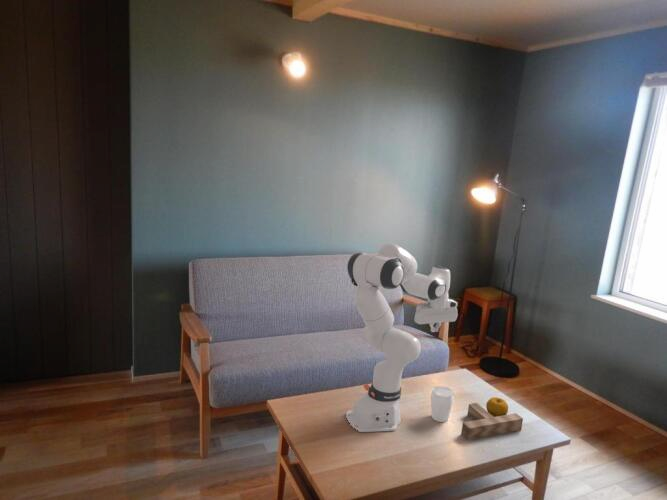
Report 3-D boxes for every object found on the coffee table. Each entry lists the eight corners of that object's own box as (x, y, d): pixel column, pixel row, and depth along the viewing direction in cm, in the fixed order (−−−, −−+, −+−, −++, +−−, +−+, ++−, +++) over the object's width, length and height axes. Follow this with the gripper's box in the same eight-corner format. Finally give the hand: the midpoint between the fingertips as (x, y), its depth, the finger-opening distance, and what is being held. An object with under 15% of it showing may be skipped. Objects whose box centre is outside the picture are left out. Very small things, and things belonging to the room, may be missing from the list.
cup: (424, 413, 191) (427, 387, 189) (442, 410, 195) (445, 384, 193) (437, 425, 183) (440, 398, 181) (455, 422, 187) (458, 395, 185)
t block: (467, 440, 175) (469, 428, 174) (445, 418, 189) (446, 407, 188) (521, 429, 184) (523, 418, 183) (496, 409, 198) (497, 399, 197)
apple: (480, 416, 192) (483, 397, 190) (492, 410, 197) (495, 391, 196) (498, 426, 186) (501, 406, 184) (510, 420, 191) (513, 400, 189)
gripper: (420, 305, 196) (417, 336, 198) (460, 303, 203) (457, 332, 206) (413, 301, 201) (410, 330, 204) (452, 298, 208) (449, 327, 211)
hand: (434, 331), depth 205 cm, fingers closed
